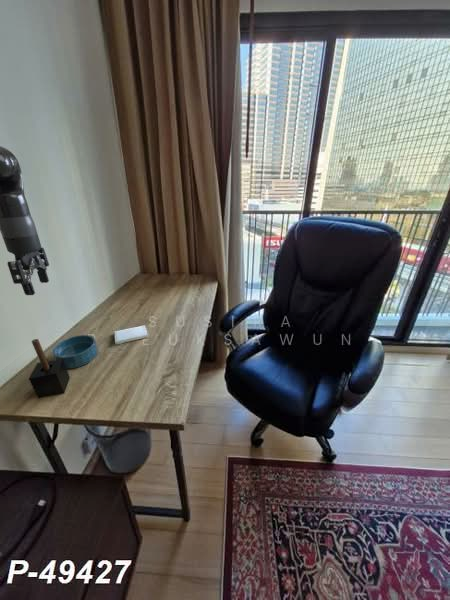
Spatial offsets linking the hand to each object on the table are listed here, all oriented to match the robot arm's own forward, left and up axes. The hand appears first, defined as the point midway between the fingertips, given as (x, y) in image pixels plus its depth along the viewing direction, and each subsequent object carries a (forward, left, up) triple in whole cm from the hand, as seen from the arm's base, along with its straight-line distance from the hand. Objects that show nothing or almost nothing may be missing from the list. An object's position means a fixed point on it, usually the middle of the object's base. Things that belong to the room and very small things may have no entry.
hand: (38, 288), depth 74 cm
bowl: (+3, +5, -30) cm, 30 cm away
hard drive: (+21, +14, -30) cm, 39 cm away
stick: (-1, -9, -30) cm, 31 cm away
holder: (-1, -9, -30) cm, 31 cm away
